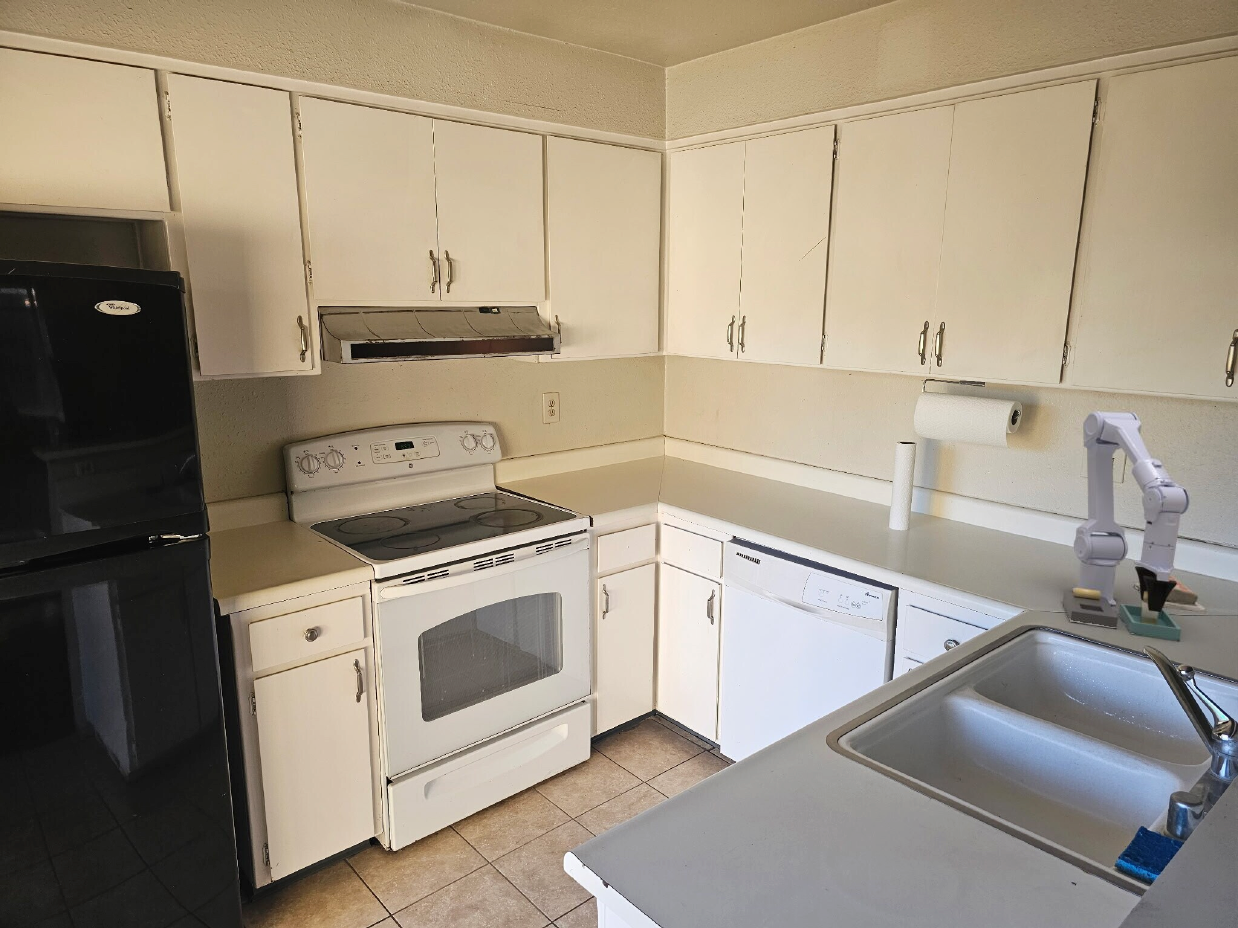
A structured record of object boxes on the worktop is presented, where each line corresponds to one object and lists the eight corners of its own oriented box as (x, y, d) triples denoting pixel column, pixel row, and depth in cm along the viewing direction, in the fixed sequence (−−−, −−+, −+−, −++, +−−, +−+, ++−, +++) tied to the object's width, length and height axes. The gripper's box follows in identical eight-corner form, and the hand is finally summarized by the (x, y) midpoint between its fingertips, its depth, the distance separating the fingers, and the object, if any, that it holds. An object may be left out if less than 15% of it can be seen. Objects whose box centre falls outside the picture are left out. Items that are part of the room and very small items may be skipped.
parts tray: (1118, 614, 180) (1120, 603, 180) (1163, 621, 177) (1165, 609, 176) (1130, 633, 167) (1132, 622, 167) (1179, 641, 164) (1181, 629, 164)
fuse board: (1062, 601, 188) (1064, 583, 187) (1104, 607, 184) (1107, 588, 184) (1070, 622, 173) (1073, 601, 172) (1116, 629, 170) (1119, 608, 169)
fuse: (1138, 621, 174) (1142, 590, 173) (1154, 624, 173) (1159, 592, 172) (1141, 625, 171) (1145, 593, 170) (1157, 628, 170) (1162, 596, 169)
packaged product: (1134, 568, 204) (1179, 573, 201) (1131, 587, 204) (1176, 592, 202) (1158, 588, 187) (1209, 593, 184) (1155, 608, 187) (1205, 614, 184)
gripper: (1130, 533, 177) (1122, 593, 179) (1144, 547, 164) (1135, 612, 166) (1168, 538, 175) (1160, 598, 177) (1185, 552, 162) (1175, 618, 163)
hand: (1150, 605), depth 171 cm, fingers open, 7 cm apart
